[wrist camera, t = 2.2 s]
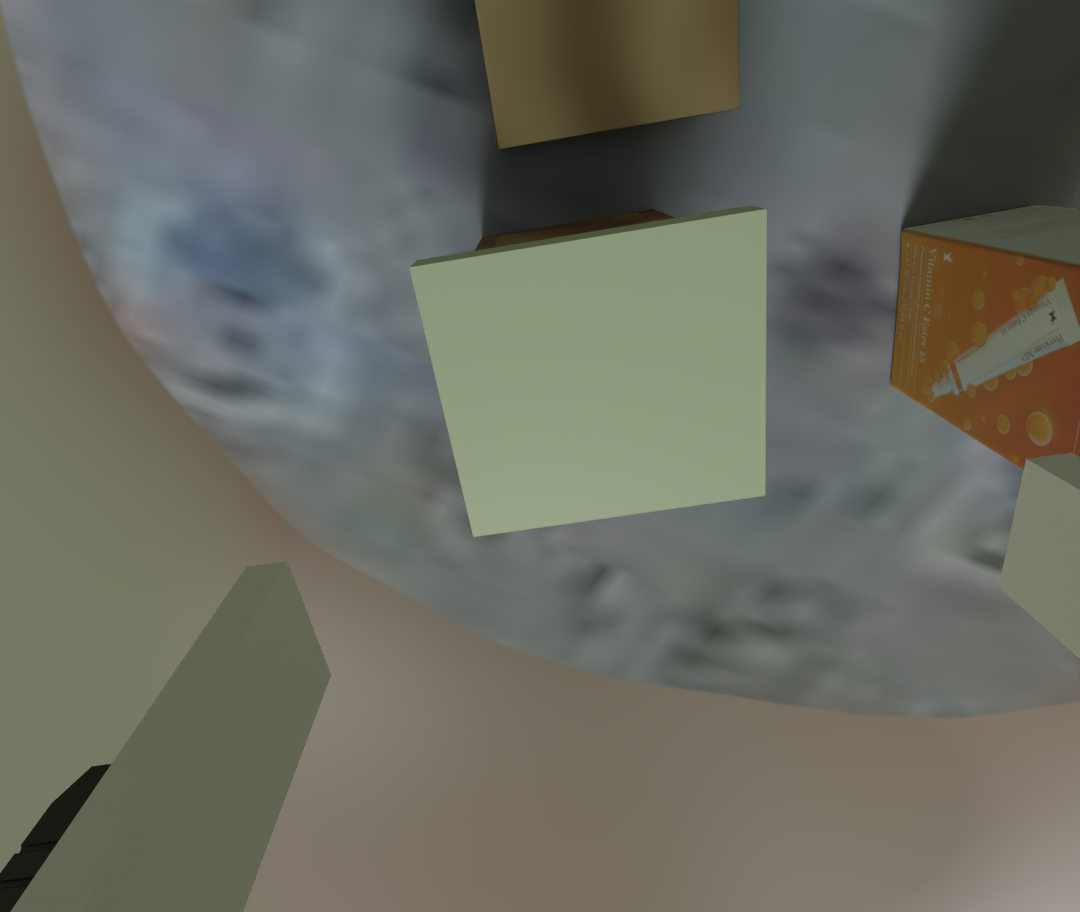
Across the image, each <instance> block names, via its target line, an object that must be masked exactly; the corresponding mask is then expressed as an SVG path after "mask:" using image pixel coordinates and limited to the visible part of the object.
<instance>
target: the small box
mask: <svg viewBox="0 0 1080 912" xmlns="http://www.w3.org/2000/svg"><path fill="white" fill-rule="evenodd" d="M891 385H892V386H893V387H894V388H895V389H897V390H898V391H900V392H902V393H903V394H905V395H906V396H908V397H909V398H911V399H913V400H914V401H916V402H917V403H919V404H920V405H922V406H924V407H925V408H927V409H928V410H930V411H931V412H933V413H934V414H936V415H937V416H939V417H941V418H942V419H944V420H945V421H947V422H948V423H950V424H952V425H953V426H955V427H956V428H958V429H959V430H961V431H963V432H964V433H966V434H967V435H969V436H971V437H972V438H974V439H975V440H977V441H978V442H980V443H981V444H983V445H985V446H986V447H988V448H989V449H991V450H992V451H994V452H995V453H997V454H999V455H1000V456H1002V457H1003V458H1005V459H1007V460H1008V461H1010V462H1011V463H1013V464H1014V465H1016V466H1018V467H1019V468H1020V469H1022V470H1023V471H1024V467H1025V462H1026V459H1029V458H1036V457H1043V456H1051V455H1058V454H1065V453H1073V454H1075V455H1077V456H1079V457H1080V209H1078V208H1067V207H1056V206H1044V205H1032V206H1027V207H1022V208H1016V209H1011V210H1005V211H999V212H994V213H989V214H983V215H978V216H972V217H967V218H961V219H955V220H949V221H943V222H937V223H931V224H926V225H920V226H914V227H908V228H904V229H903V230H902V232H901V263H900V280H899V293H898V307H897V320H896V330H895V341H894V353H893V363H892V373H891Z"/></svg>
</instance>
